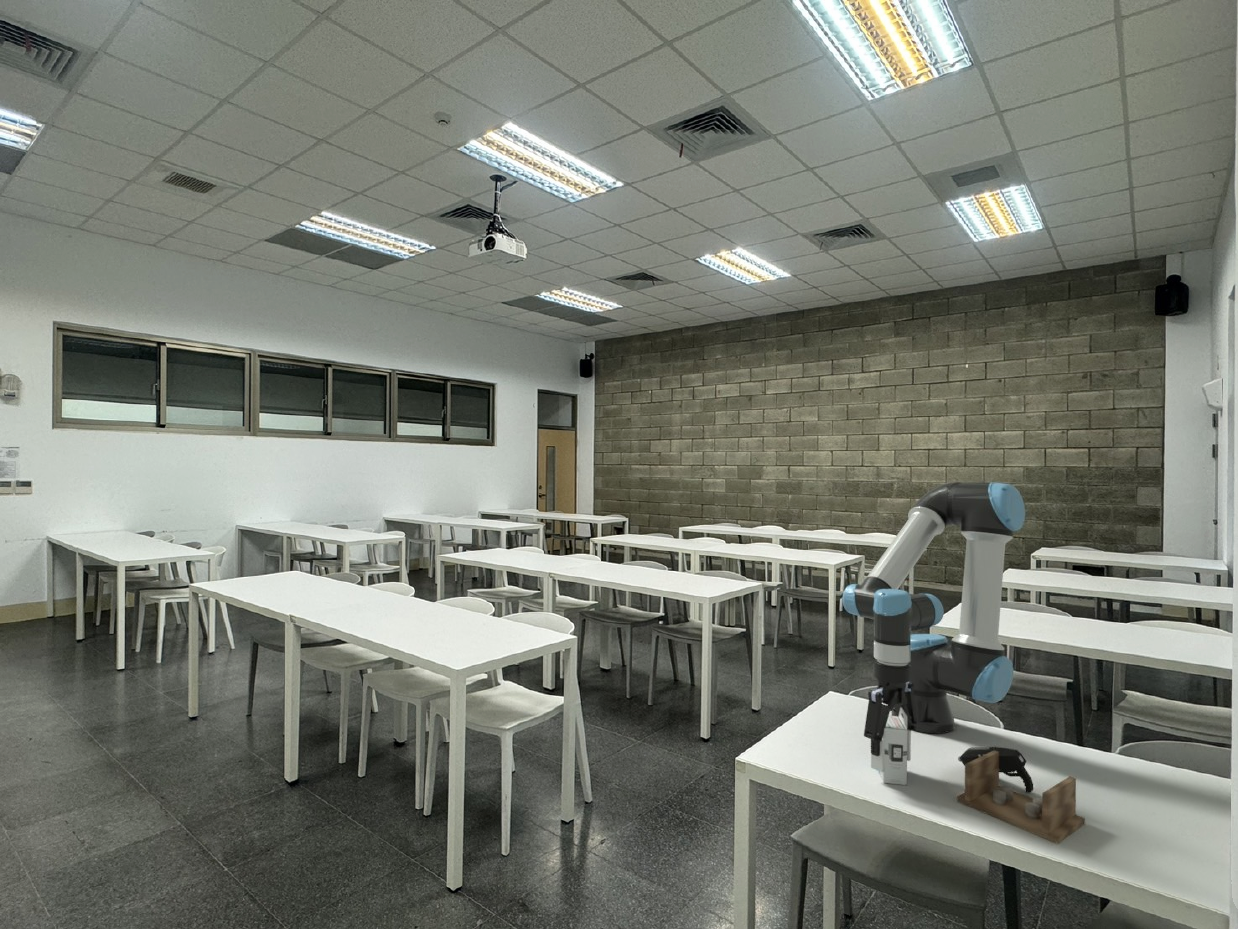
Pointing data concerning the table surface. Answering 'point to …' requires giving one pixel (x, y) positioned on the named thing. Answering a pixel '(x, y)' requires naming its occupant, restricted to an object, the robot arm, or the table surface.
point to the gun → (1002, 762)
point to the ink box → (895, 750)
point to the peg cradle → (1021, 801)
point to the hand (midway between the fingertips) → (891, 763)
